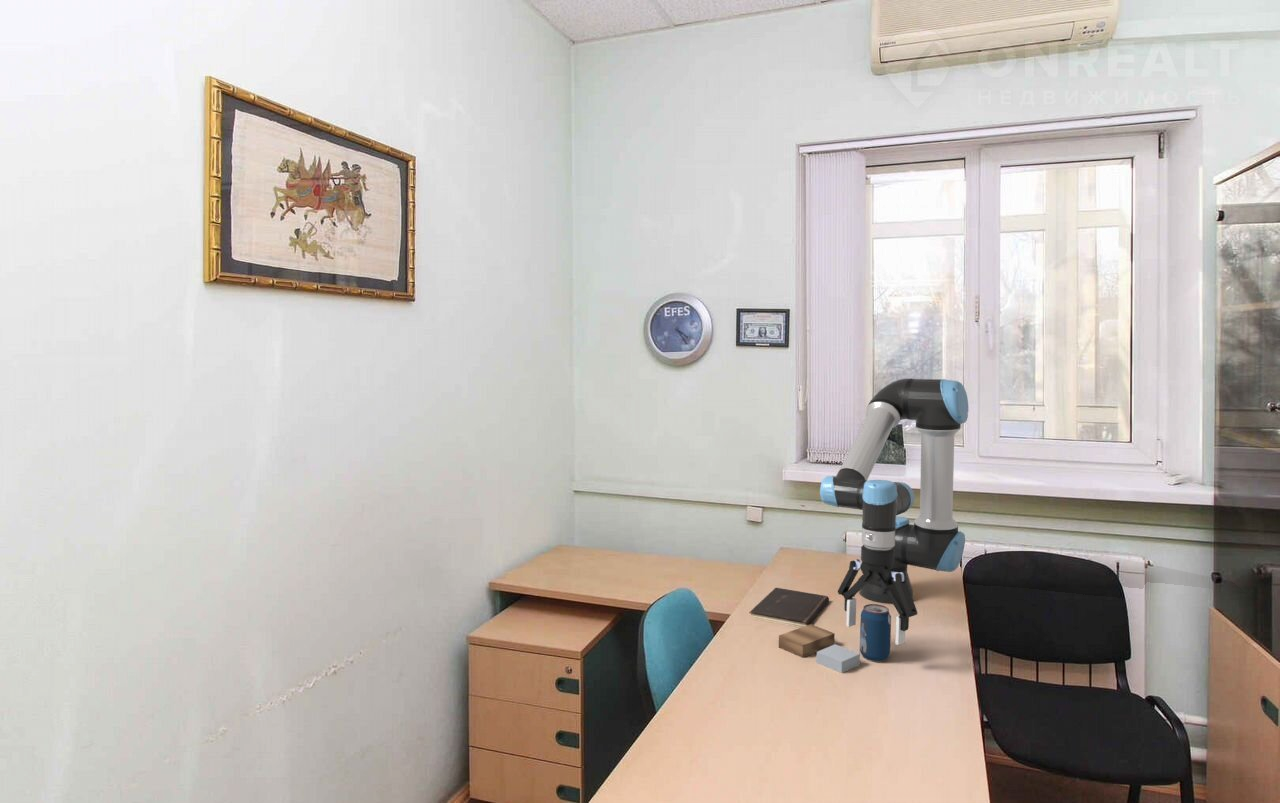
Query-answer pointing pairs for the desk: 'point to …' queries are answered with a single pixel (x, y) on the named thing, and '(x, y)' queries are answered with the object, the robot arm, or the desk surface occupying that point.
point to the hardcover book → (790, 607)
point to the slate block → (838, 658)
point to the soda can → (875, 633)
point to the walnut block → (806, 640)
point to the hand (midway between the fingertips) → (874, 634)
